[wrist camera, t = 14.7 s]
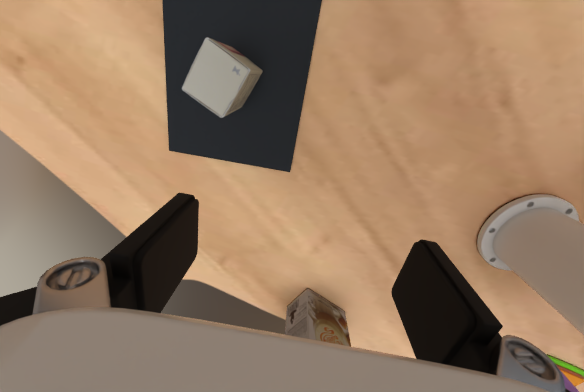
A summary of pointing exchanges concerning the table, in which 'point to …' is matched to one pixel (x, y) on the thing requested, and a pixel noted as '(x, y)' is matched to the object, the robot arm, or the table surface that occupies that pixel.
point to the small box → (221, 78)
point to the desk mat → (267, 91)
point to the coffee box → (316, 320)
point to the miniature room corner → (569, 374)
